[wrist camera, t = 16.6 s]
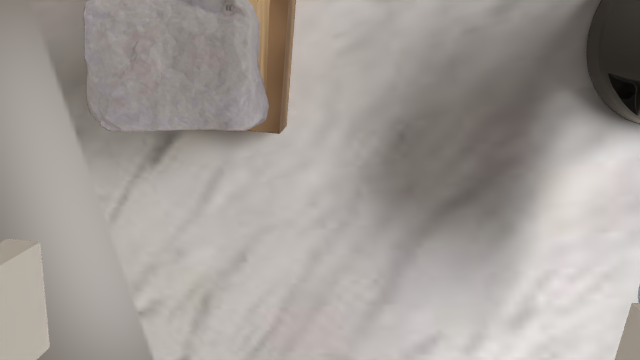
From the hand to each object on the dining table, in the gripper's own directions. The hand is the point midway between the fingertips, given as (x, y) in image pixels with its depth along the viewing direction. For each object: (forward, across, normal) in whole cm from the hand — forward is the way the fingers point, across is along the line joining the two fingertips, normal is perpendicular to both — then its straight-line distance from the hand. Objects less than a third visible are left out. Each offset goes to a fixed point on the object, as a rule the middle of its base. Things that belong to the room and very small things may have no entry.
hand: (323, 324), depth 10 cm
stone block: (+24, -12, +5) cm, 27 cm away
